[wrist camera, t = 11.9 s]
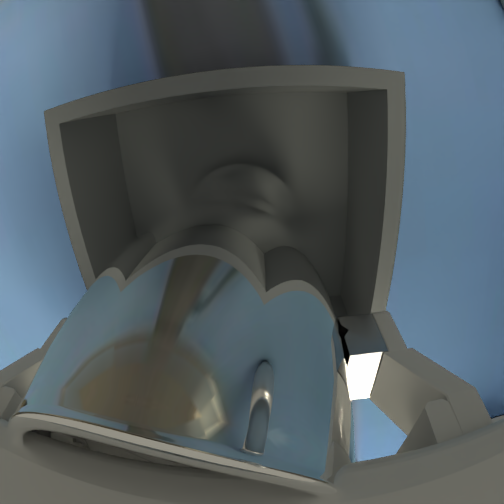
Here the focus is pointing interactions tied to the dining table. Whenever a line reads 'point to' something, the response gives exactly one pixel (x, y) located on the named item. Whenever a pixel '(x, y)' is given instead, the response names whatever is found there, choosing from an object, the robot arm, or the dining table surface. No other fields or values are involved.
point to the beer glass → (206, 348)
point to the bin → (243, 162)
